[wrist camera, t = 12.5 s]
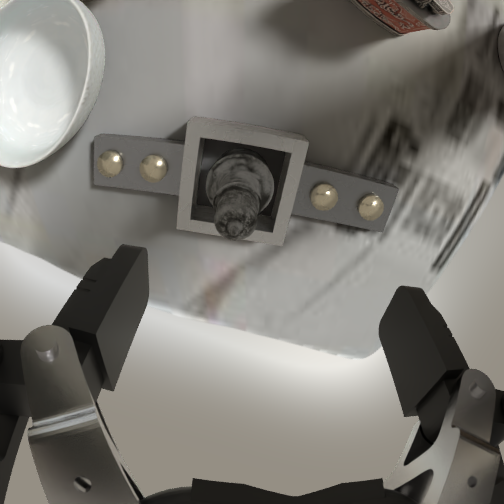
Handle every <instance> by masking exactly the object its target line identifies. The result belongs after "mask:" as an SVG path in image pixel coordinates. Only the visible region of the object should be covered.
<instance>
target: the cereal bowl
mask: <svg viewBox="0 0 504 504" xmlns="http://www.w3.org/2000/svg"><path fill="white" fill-rule="evenodd" d="M104 68H105V47H104V40H103V36H102V32H101V30H100V26H99V24H98V22H97V20H96V18H95V17H94V16H93V14H92V12H91V11H90V10H89V9H88V8H87V7H86V6H85V5H84V4H83V3H82V2H81V1H79V0H10V1H9V2H8V3H6V4H5V5H4V6H2V7H1V8H0V166H3V167H8V168H22V167H27V166H30V165H34V164H36V163H38V162H40V161H42V160H44V159H46V158H47V157H49V156H50V155H52V154H54V153H55V152H56V151H58V150H59V149H60V148H61V147H62V146H64V145H65V144H66V143H67V142H68V141H69V140H70V139H72V137H73V136H74V135H75V134H76V133H77V132H78V130H79V129H80V128H81V126H82V125H83V124H84V122H85V121H86V120H87V117H88V116H89V114H90V112H91V110H92V109H93V106H94V104H95V102H96V100H97V97H98V94H99V90H100V87H101V83H102V78H103V75H104V74H103V73H104Z"/></svg>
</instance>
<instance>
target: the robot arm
mask: <svg viewBox="0 0 504 504" xmlns="http://www.w3.org/2000/svg"><path fill="white" fill-rule="evenodd" d="M498 53H499V58H500V62H501V65H502V68H503V71H504V26H503V27H502V29H501V31H500V33H499V38H498ZM148 297H149V278H148V254H147V249H146V248H143V247H137V246H130V245H124V244H122V245H121V246H120V247H119V248H118V250H117V251H116V253H115V254H114V256H113V257H112V259H108V258H103V259H102V260H100V261H99V262H97V263H96V264H94V265H93V266H91V267H90V269H89V270H88V272H87V273H86V274H85V276H84V277H83V280H81V281H80V283H79V284H78V286H77V289H76V290H74V292H73V293H72V295H71V296H70V297H69V299H68V301H67V302H66V303H65V305H64V307H63V308H62V310H61V311H60V313H59V314H58V316H57V317H56V319H55V320H54V322H53V324H52V325H46V326H41V327H38V328H36V329H34V330H33V331H31V332H30V333H29V334H28V335H27V336H26V337H25V339H24V340H0V504H4V500H5V495H6V491H7V487H8V483H9V480H10V476H11V472H12V468H13V465H14V462H15V458H16V455H17V452H18V448H19V445H20V442H21V439H22V436H23V433H24V430H25V428H26V425H27V422H28V419H29V417H32V422H33V427H31V428H29V429H28V441H29V445H30V449H31V452H32V456H33V459H34V463H35V466H36V469H37V472H38V475H39V478H40V481H41V484H42V487H43V489H44V492H45V494H46V497H47V500H48V503H49V504H504V463H503V460H502V456H501V452H500V449H499V446H498V444H500V443H501V442H502V441H503V440H504V391H501V390H497V389H495V387H494V385H493V383H492V382H491V380H490V379H489V377H488V376H487V375H485V374H484V373H483V372H481V371H479V370H477V369H469V367H468V365H467V363H466V360H465V358H464V356H463V354H462V352H461V351H460V349H459V346H458V345H457V343H456V341H455V339H454V337H452V333H451V331H450V330H449V328H447V324H446V322H445V320H444V319H443V317H442V315H441V314H440V313H439V312H438V311H437V310H436V309H435V307H433V305H432V304H431V303H430V301H429V299H428V297H427V296H426V294H425V292H424V291H423V289H421V288H417V287H409V286H400V287H398V289H397V290H396V292H395V294H394V296H393V298H392V300H391V302H390V304H389V306H388V307H387V309H386V311H385V313H384V315H383V317H382V319H381V321H380V325H379V338H380V341H381V344H382V347H383V350H384V352H385V355H386V358H387V362H388V364H389V367H390V371H391V374H392V377H393V380H394V383H395V387H396V390H397V393H398V397H399V400H400V403H401V407H402V410H403V414H404V417H409V416H419V421H418V422H417V423H416V424H415V425H414V427H413V429H412V432H411V434H410V437H409V439H408V441H407V444H406V446H405V448H404V450H403V453H402V455H401V457H400V459H399V461H398V463H397V465H396V467H395V469H394V471H393V472H392V473H391V475H390V476H389V477H388V478H387V479H386V480H385V481H384V482H383V480H382V478H381V479H374V480H367V481H359V482H349V483H341V484H338V485H335V486H332V487H329V488H326V489H323V490H319V491H316V492H312V493H309V494H305V495H302V496H288V495H284V494H279V493H275V492H271V491H267V490H263V489H260V488H256V487H252V486H249V485H246V484H237V483H226V482H217V481H209V480H202V479H195V478H193V481H192V487H180V488H174V489H168V490H165V491H161V492H158V493H155V494H153V495H150V496H148V497H146V498H145V497H144V495H143V493H142V492H141V490H140V488H139V486H138V485H137V483H136V481H135V479H134V478H133V476H132V474H131V472H130V470H129V469H128V467H127V465H126V463H125V461H124V459H123V458H122V456H121V454H120V452H119V449H118V448H117V446H116V443H115V441H114V439H113V437H112V435H111V432H110V430H109V428H108V425H107V423H106V421H105V418H104V416H103V414H102V411H101V408H100V406H99V403H98V401H97V398H98V396H99V393H100V391H101V388H103V389H106V390H110V391H114V389H115V386H116V383H117V380H118V378H119V375H120V372H121V370H122V367H123V364H124V362H125V359H126V356H127V353H128V351H129V349H130V346H131V343H132V341H133V338H134V336H135V333H136V331H137V328H138V326H139V323H140V321H141V318H142V316H143V314H144V311H145V309H146V306H147V302H148Z"/></svg>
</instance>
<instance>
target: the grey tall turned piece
mask: <svg viewBox="0 0 504 504" xmlns="http://www.w3.org/2000/svg"><path fill="white" fill-rule="evenodd" d="M205 187H206V194H207V196H208V199H209V201H210V202H211V204H212V205H213V207H214V211H215V216H214V224H215V227H216V230H217V231H218V232H219V234H220V235H221V236H223V237H224V238H226V239H229V240H234V241H236V240H243V239H245V238H247V237H249V236H250V235H251V234H252V233H253V232H254V230H255V228H256V226H257V217H258V216H259V214H260V212H261V211H262V210H263V209H264V208H265V207H266V206H267V205H268V204H269V202H270V200H271V199H272V196H273V192H274V180H273V177H272V174H271V172H270V170H269V169H268V167H267V164H266V162H265V161H264V159H263V158H262V157H261V156H260V155H259V154H258V153H256V152H254V151H252V150H250V149H245V148H236V149H233V150H230V151H228V152H226V153H225V154H223V155H222V156H221V157H220V158H219V159H218V161H217V162H216V163H215V164H214V165H213V166H212V167H211V169H210V171H209V173H208V175H207V178H206V184H205Z"/></svg>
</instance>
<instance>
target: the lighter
mask: <svg viewBox="0 0 504 504" xmlns="http://www.w3.org/2000/svg"><path fill="white" fill-rule="evenodd" d="M350 1H351V2H352V3H353V4H354V5H355V6H356V7H357V8H359V9H360V10H361V11H362V12H363V13H364V14H365V15H366V16H368V17H369V18H371V19H372V20H373V21H375V22H376V23H377V24H379V25H380V26H381V27H383V28H385V29H386V30H388V31H389V32H391V33H392V34H394V35H396V36H403V35H407V34H409V33H410V32H415V31H420V30H426V29H433V30H440V29H445V28H446V27H447V26H448V25H449V23H450V13H452V12H453V10H454V6H453V4H452V3H451V2H450V1H449V0H350Z"/></svg>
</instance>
